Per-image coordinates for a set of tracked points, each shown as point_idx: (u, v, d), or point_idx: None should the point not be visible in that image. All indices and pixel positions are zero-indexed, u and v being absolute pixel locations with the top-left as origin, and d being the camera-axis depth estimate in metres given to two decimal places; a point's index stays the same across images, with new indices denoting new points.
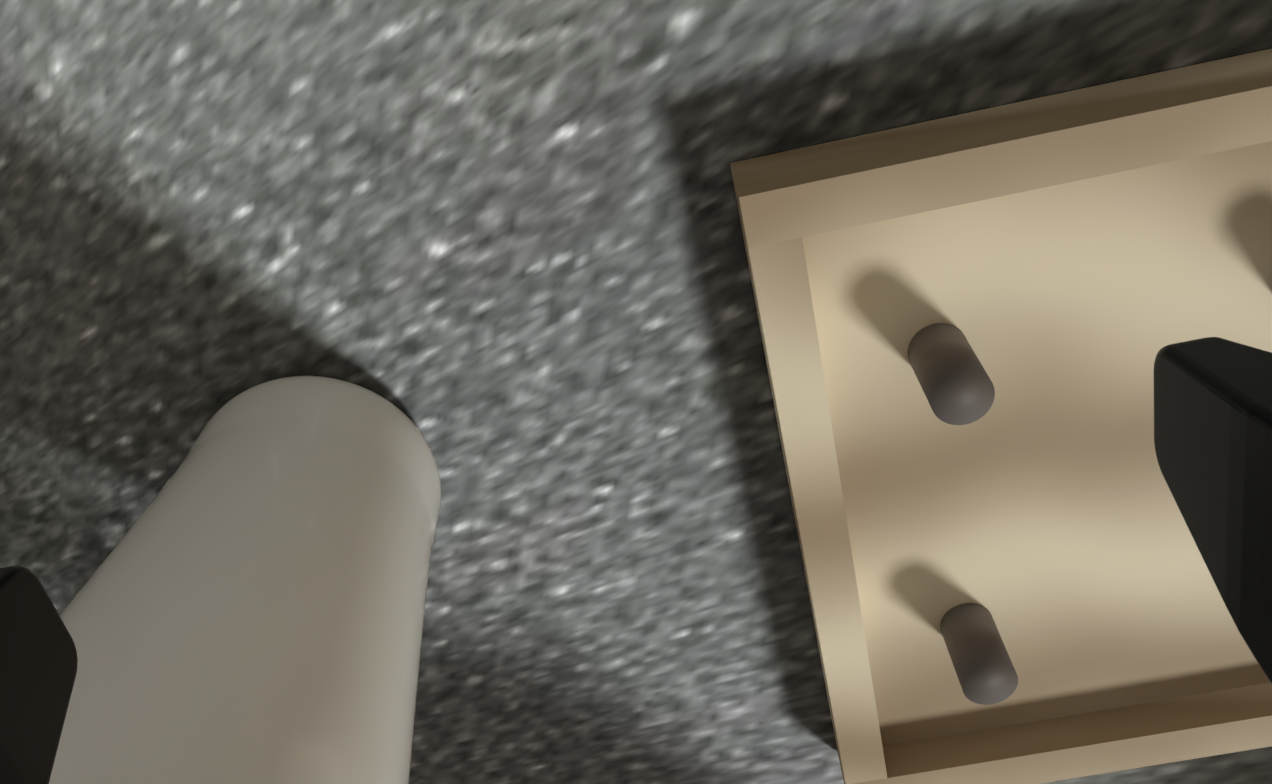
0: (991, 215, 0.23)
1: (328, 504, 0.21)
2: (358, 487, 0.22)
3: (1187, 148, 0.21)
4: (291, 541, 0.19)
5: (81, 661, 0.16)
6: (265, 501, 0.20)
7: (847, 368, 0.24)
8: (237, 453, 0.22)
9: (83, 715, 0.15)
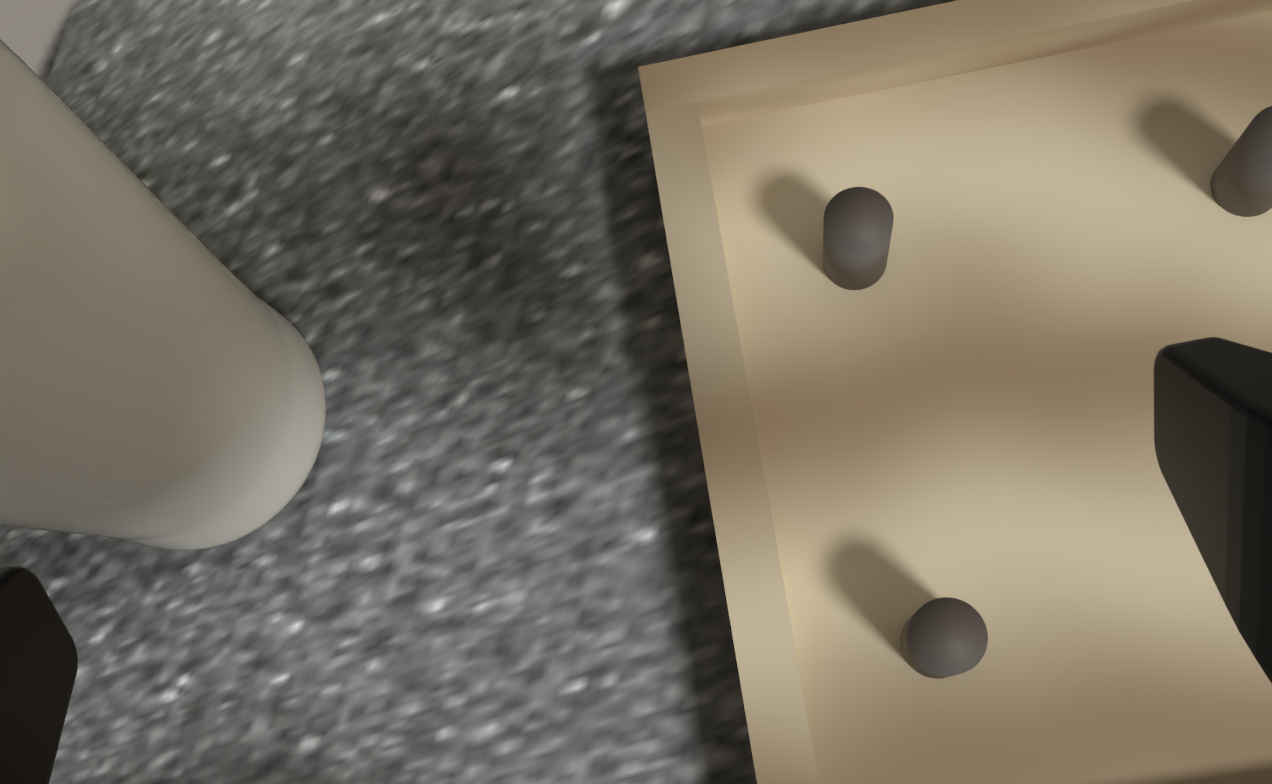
0: (893, 123, 0.23)
1: None
2: None
3: (1061, 18, 0.22)
4: None
5: None
6: None
7: (759, 279, 0.23)
8: None
9: None
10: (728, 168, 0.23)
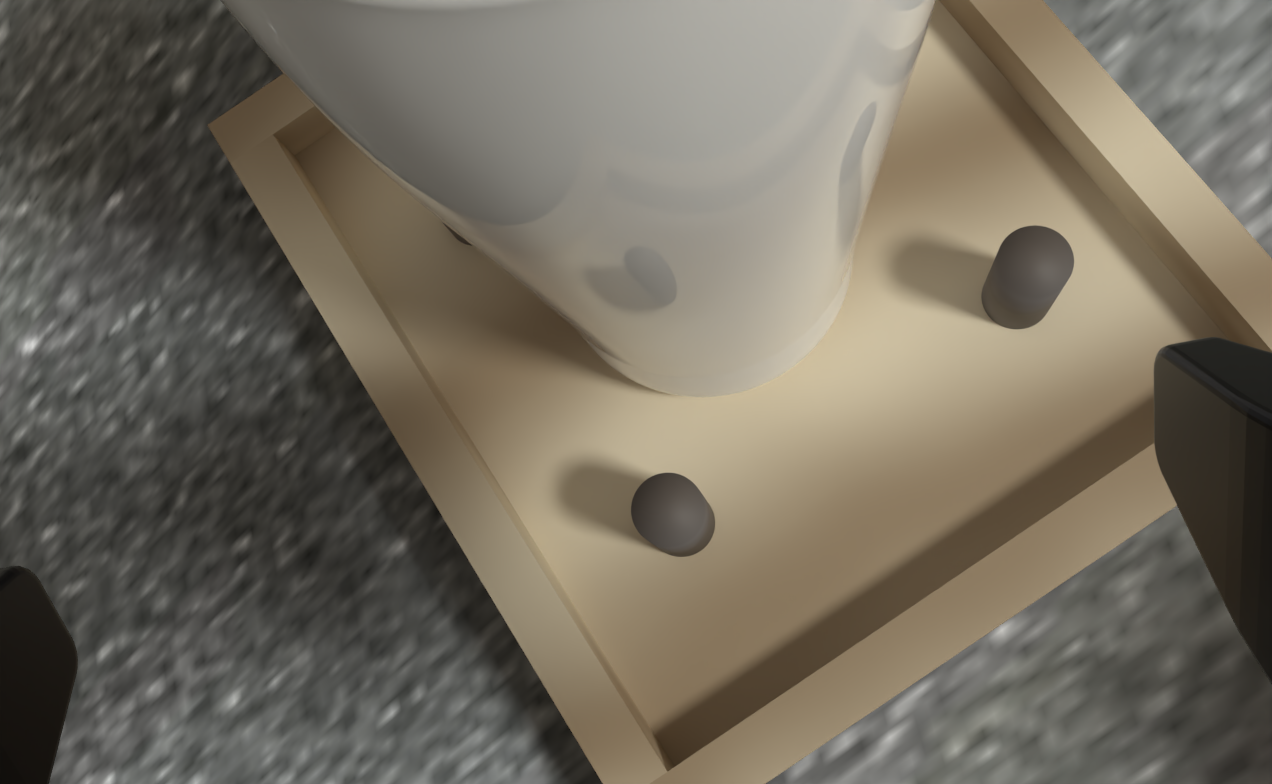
0: None
1: None
2: None
3: None
4: None
5: None
6: None
7: (400, 270, 0.23)
8: None
9: None
10: (333, 182, 0.24)
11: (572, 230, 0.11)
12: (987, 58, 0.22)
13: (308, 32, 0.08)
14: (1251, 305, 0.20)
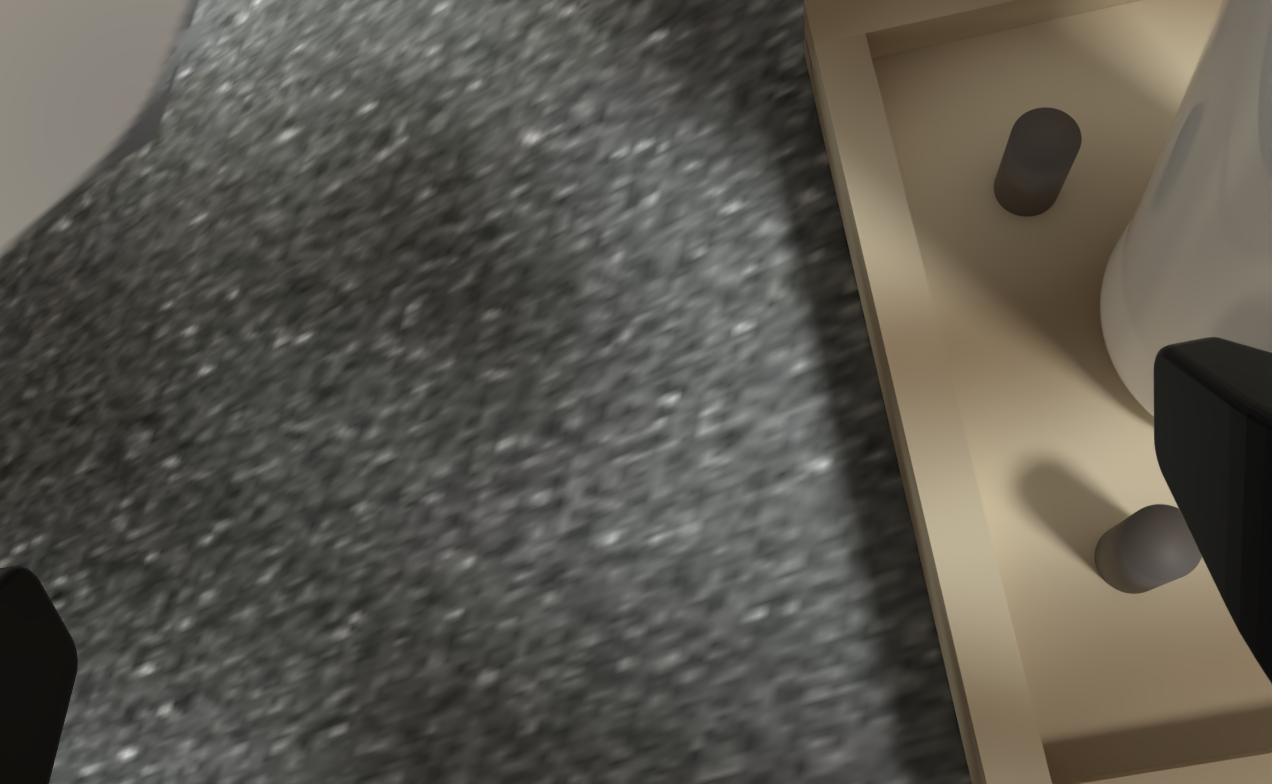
0: (1057, 53, 0.23)
1: None
2: None
3: None
4: None
5: None
6: None
7: (930, 208, 0.23)
8: None
9: None
10: (893, 101, 0.24)
11: None
12: None
13: None
14: None
